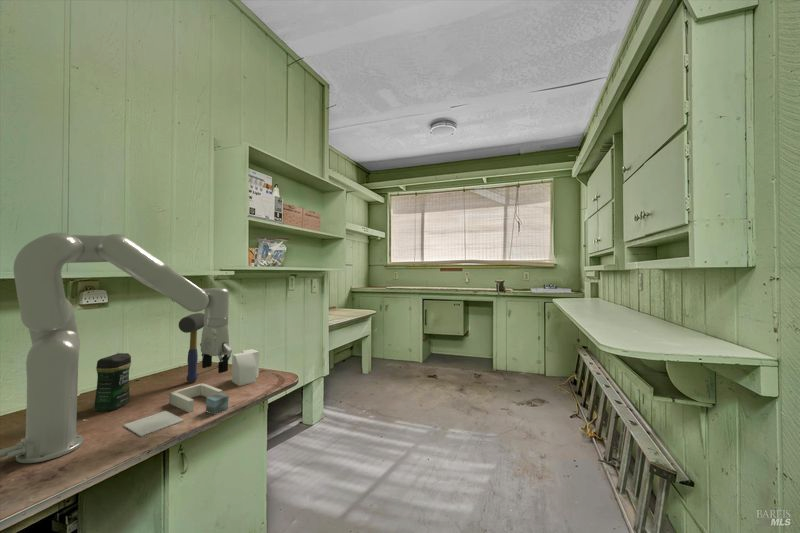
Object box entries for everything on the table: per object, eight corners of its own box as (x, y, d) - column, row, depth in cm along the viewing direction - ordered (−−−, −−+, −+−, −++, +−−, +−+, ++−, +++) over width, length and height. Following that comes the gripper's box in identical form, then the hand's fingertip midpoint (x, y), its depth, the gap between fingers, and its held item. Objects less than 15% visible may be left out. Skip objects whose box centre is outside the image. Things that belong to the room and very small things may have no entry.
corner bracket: (251, 373, 154) (252, 348, 154) (263, 379, 146) (264, 353, 146) (228, 379, 146) (229, 353, 146) (239, 386, 138) (239, 358, 138)
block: (214, 415, 112) (215, 400, 112) (206, 411, 114) (206, 397, 114) (228, 409, 116) (228, 395, 116) (219, 406, 118) (219, 392, 118)
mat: (141, 436, 96) (141, 435, 96) (123, 426, 102) (123, 424, 102) (184, 420, 107) (184, 419, 107) (165, 411, 113) (165, 410, 113)
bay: (188, 412, 113) (189, 401, 113) (169, 403, 119) (169, 392, 119) (222, 400, 123) (222, 390, 123) (202, 392, 130) (202, 383, 130)
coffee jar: (113, 412, 111) (115, 358, 111) (89, 412, 110) (90, 358, 111) (134, 400, 121) (136, 351, 121) (112, 400, 120) (113, 351, 120)
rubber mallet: (193, 387, 135) (196, 316, 135) (174, 387, 134) (177, 316, 134) (207, 377, 148) (209, 312, 148) (190, 377, 147) (192, 311, 147)
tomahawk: (197, 381, 145) (198, 378, 145) (186, 378, 147) (186, 375, 147) (232, 366, 165) (233, 364, 165) (222, 364, 167) (222, 362, 167)
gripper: (191, 321, 117) (190, 368, 117) (220, 326, 108) (219, 377, 108) (212, 318, 123) (211, 362, 123) (240, 323, 115) (239, 371, 115)
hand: (214, 369), depth 116 cm, fingers open, 9 cm apart
